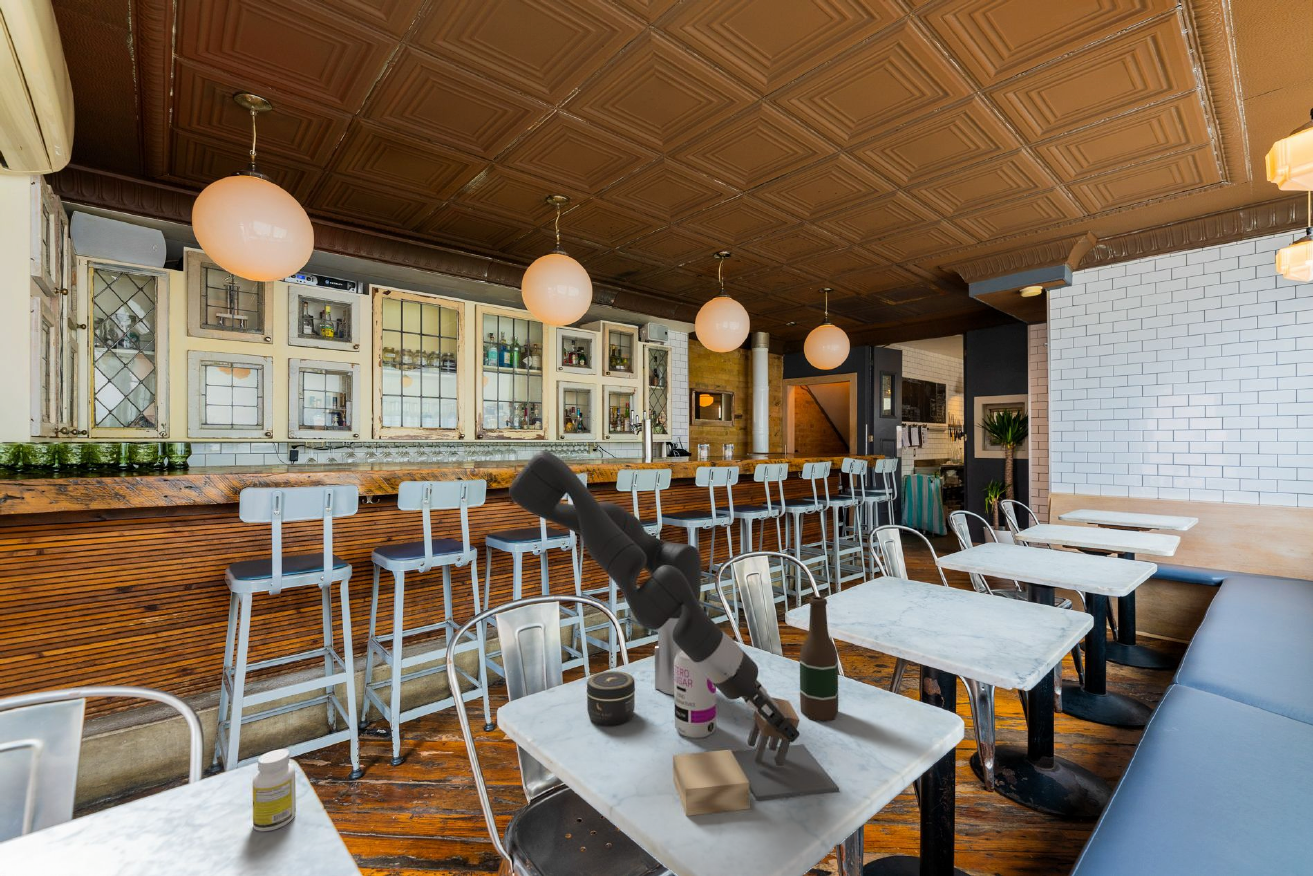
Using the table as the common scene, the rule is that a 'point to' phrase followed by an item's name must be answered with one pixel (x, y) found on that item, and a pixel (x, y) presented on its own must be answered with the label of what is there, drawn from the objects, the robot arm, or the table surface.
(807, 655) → the beer bottle
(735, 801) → the step
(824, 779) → the mat
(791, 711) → the stool
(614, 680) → the jar
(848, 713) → the table surface
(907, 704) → the table surface
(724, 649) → the robot arm
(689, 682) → the supplement can
